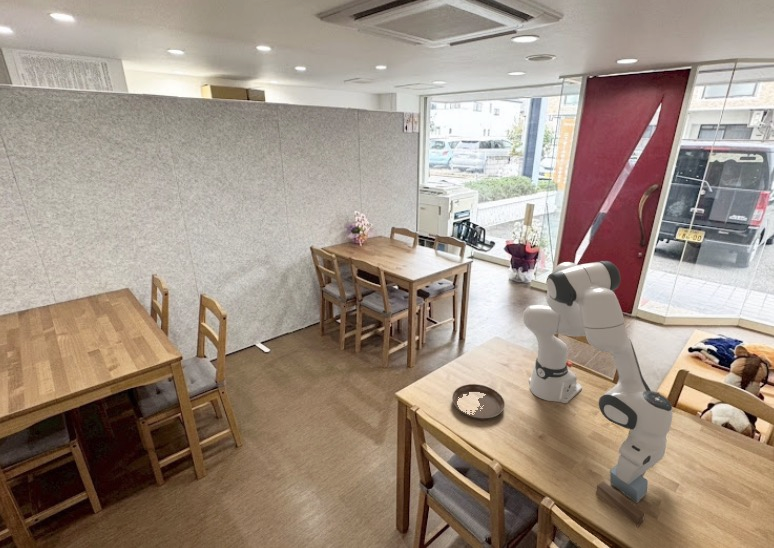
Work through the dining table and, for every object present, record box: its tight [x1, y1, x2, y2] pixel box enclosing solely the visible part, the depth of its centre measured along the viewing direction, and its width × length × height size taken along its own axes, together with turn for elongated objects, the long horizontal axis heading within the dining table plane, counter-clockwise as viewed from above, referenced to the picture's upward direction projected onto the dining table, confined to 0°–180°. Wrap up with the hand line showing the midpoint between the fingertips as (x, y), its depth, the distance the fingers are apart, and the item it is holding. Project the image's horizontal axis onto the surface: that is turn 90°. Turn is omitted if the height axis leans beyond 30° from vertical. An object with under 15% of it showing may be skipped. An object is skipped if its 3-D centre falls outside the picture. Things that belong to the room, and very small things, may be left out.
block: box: [609, 464, 648, 504], centre depth 114 cm, size 5×8×6 cm, turn 28°
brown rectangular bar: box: [595, 480, 646, 528], centre depth 109 cm, size 3×12×4 cm, turn 29°
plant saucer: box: [452, 383, 506, 421], centre depth 153 cm, size 21×21×3 cm
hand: (637, 479), depth 116 cm, fingers closed
